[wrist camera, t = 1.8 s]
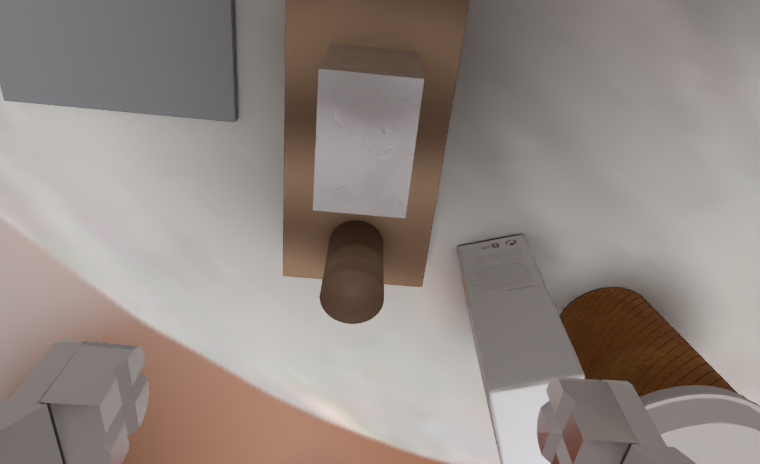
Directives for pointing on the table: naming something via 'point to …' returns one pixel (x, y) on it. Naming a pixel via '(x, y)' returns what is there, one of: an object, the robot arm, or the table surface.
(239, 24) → the table surface
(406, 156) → the white rectangular box
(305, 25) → the walnut plane
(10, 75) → the slate pad
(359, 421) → the table surface
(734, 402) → the disposable coffee cup
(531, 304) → the skincare box
